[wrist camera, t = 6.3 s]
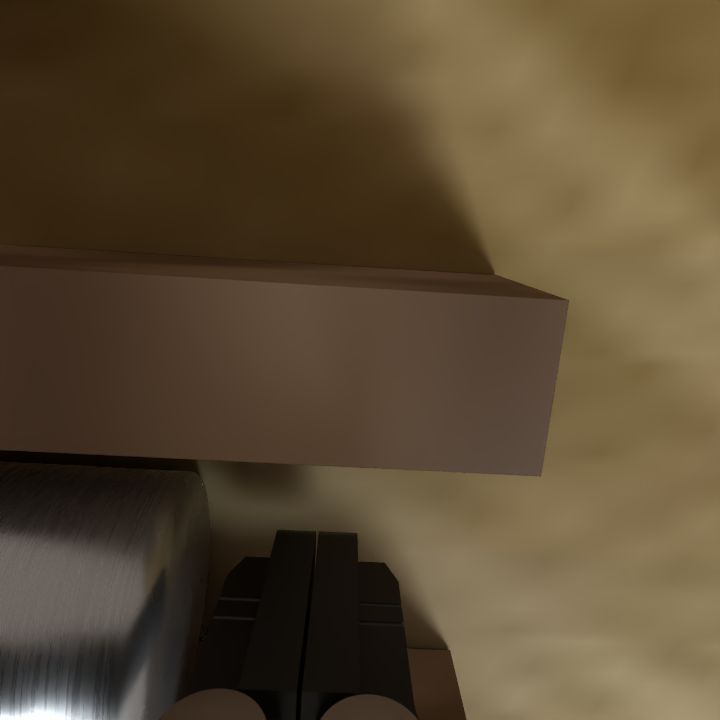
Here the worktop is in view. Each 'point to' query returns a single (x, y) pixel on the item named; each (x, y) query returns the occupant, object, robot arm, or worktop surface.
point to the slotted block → (279, 371)
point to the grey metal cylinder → (99, 590)
